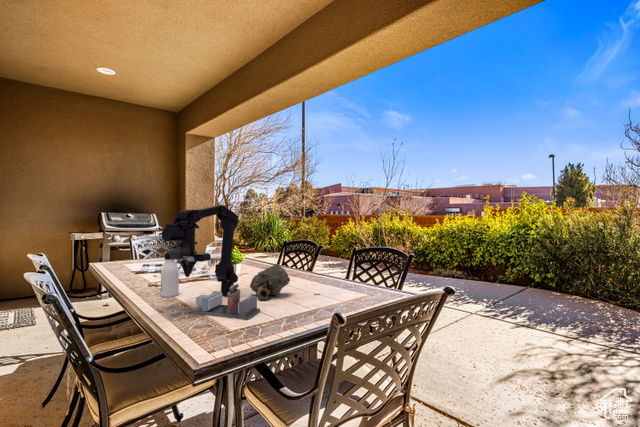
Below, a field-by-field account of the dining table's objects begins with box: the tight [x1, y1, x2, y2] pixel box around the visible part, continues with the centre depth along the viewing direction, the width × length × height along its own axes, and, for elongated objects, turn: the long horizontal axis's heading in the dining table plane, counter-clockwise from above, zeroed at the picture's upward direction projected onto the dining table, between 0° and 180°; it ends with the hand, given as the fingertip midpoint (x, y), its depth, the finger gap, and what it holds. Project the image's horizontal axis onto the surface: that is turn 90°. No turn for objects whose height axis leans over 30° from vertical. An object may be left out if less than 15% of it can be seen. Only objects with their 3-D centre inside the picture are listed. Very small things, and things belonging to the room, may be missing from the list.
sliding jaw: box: [195, 291, 223, 311], centre depth 126 cm, size 10×8×5 cm
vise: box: [188, 295, 261, 321], centre depth 124 cm, size 10×26×6 cm, turn 75°
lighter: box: [226, 283, 241, 314], centre depth 123 cm, size 8×3×10 cm, turn 169°
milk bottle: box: [160, 258, 180, 298], centre depth 148 cm, size 8×8×20 cm
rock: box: [249, 263, 291, 301], centre depth 147 cm, size 18×14×15 cm
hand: (187, 277), depth 128 cm, fingers closed
